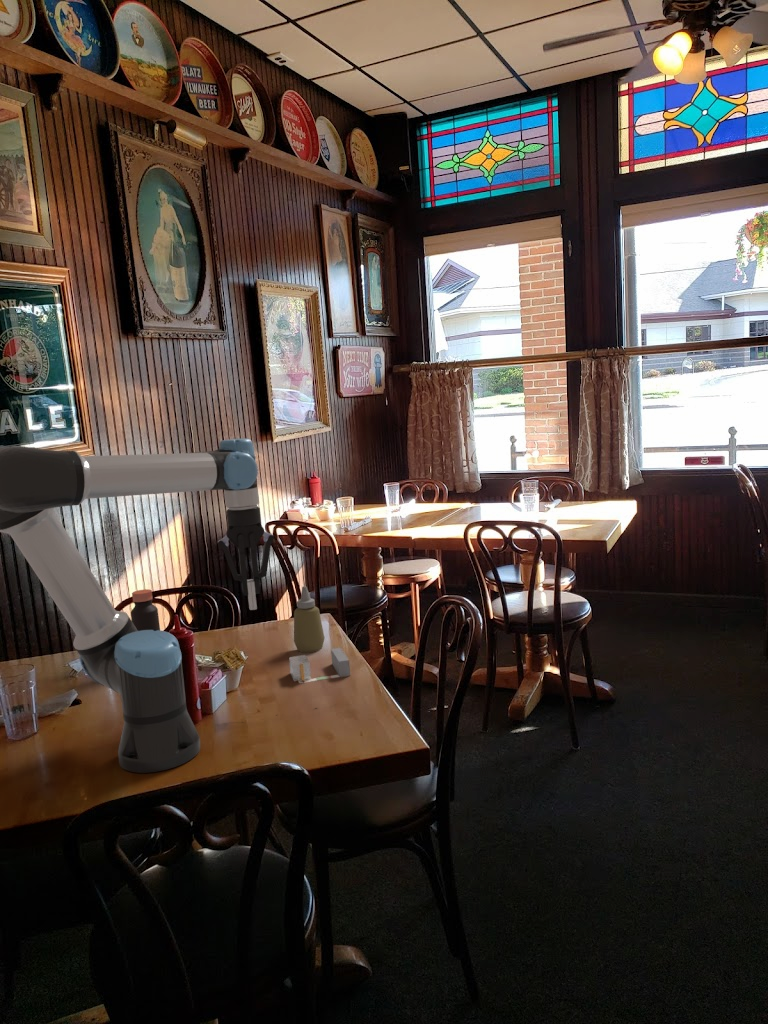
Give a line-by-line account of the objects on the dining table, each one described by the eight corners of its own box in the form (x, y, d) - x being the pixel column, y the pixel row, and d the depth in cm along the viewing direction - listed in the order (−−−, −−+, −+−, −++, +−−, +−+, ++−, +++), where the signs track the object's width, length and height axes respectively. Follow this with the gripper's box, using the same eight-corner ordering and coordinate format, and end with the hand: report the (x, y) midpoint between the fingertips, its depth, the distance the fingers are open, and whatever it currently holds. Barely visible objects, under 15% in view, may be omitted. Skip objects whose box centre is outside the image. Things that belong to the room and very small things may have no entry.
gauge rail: (350, 681, 178) (349, 660, 178) (287, 691, 175) (285, 670, 174) (342, 667, 188) (340, 647, 187) (281, 677, 184) (279, 656, 183)
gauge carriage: (311, 680, 177) (310, 664, 176) (294, 683, 176) (293, 666, 175) (307, 670, 184) (305, 654, 183) (290, 673, 183) (289, 657, 182)
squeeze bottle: (319, 658, 196) (313, 590, 193) (290, 657, 198) (283, 590, 196) (330, 648, 204) (324, 583, 201) (302, 647, 206) (296, 583, 203)
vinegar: (132, 667, 200) (123, 593, 197) (155, 659, 205) (146, 587, 202) (146, 671, 196) (137, 596, 193) (169, 663, 201) (160, 590, 198)
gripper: (269, 502, 177) (279, 600, 181) (212, 508, 174) (223, 608, 177) (273, 506, 170) (283, 608, 173) (213, 512, 167) (225, 616, 170)
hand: (253, 608), depth 175 cm, fingers closed
